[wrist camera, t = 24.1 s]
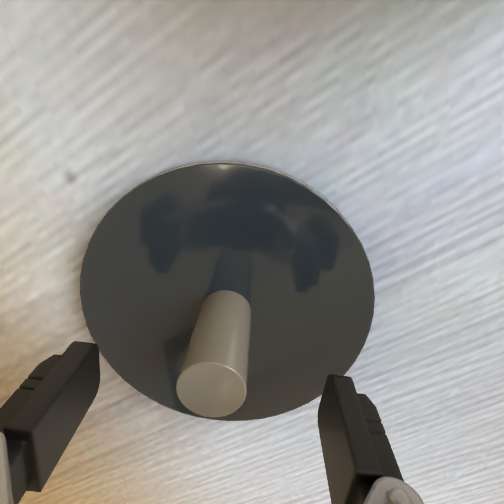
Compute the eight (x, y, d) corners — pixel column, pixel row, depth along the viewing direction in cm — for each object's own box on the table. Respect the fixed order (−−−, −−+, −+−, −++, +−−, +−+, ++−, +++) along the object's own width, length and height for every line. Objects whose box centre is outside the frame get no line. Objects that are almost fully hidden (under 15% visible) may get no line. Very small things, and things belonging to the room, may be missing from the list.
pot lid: (403, 182, 15) (487, 227, 10) (333, 418, 20) (360, 539, 15) (84, 137, 15) (-27, 156, 9) (96, 388, 20) (28, 499, 14)
